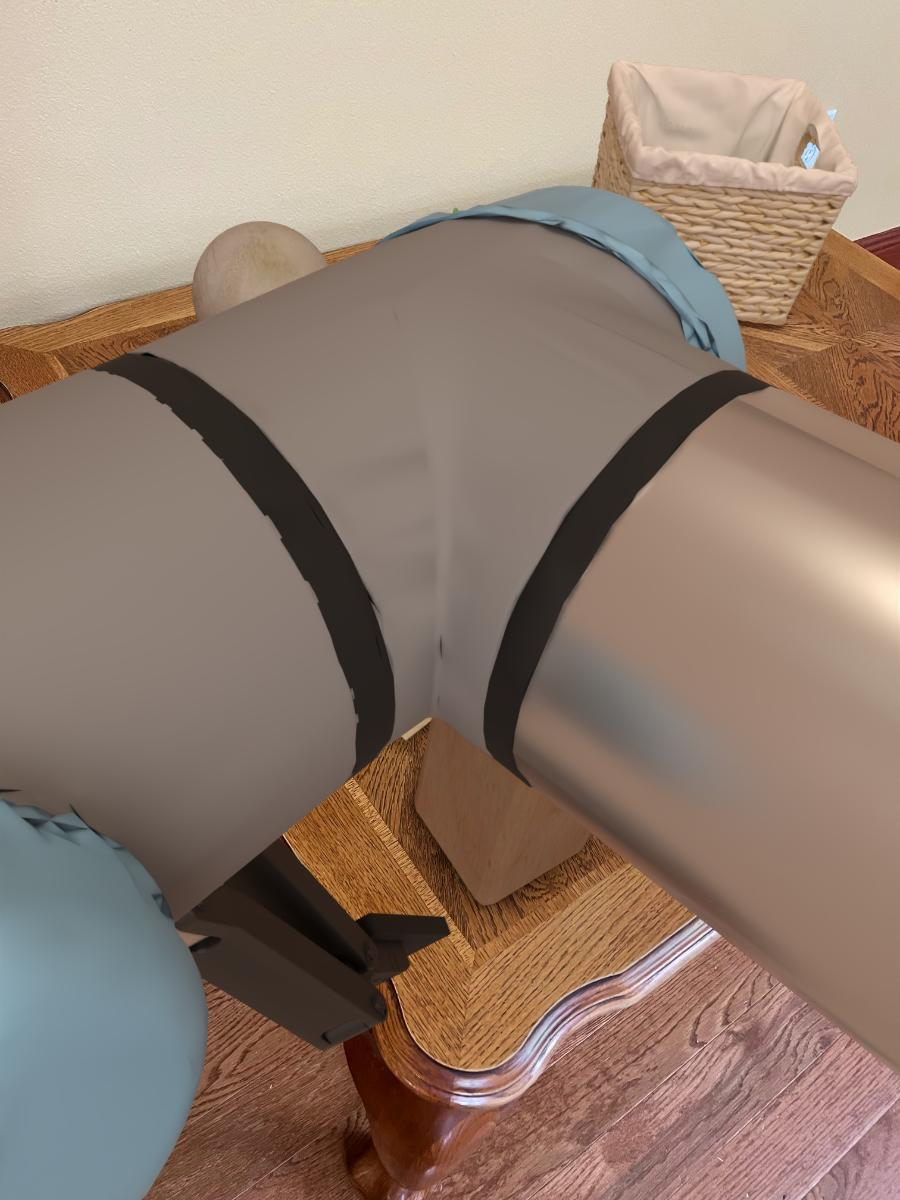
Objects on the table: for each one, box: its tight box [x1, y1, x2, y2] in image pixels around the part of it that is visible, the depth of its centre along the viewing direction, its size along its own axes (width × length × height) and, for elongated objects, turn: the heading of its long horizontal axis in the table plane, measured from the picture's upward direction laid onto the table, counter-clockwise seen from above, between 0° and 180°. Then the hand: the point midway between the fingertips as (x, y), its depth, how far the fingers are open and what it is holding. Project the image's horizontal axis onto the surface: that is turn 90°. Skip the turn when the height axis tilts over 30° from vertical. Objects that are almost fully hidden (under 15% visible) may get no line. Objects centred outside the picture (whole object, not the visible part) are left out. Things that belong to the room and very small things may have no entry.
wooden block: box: [413, 718, 592, 907], centre depth 64 cm, size 10×10×20 cm
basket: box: [590, 59, 859, 326], centre depth 120 cm, size 27×27×22 cm
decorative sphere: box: [191, 220, 330, 322], centre depth 99 cm, size 15×15×15 cm
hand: (368, 793), depth 43 cm, fingers open, 13 cm apart
